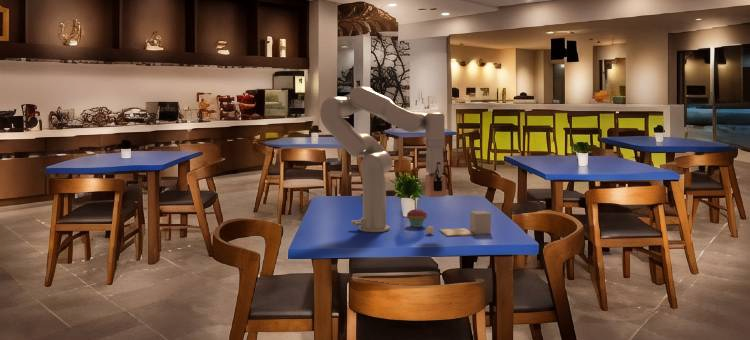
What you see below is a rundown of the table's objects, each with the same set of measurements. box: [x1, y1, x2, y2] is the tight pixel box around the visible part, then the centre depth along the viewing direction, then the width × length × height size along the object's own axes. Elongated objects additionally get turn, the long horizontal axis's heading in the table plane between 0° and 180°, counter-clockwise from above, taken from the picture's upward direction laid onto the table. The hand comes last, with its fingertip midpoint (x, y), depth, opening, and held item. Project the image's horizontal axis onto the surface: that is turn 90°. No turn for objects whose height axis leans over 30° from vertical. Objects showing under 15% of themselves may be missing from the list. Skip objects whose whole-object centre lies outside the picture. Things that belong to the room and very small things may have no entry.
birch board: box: [438, 227, 475, 237], centre depth 246 cm, size 11×11×1 cm
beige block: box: [469, 210, 492, 235], centre depth 247 cm, size 6×6×8 cm
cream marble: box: [425, 225, 435, 235], centre depth 244 cm, size 3×3×3 cm
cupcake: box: [406, 198, 428, 228], centre depth 260 cm, size 9×8×12 cm
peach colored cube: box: [424, 174, 447, 198], centre depth 242 cm, size 6×6×8 cm
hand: (435, 189), depth 242 cm, fingers closed on peach colored cube, 6 cm apart
